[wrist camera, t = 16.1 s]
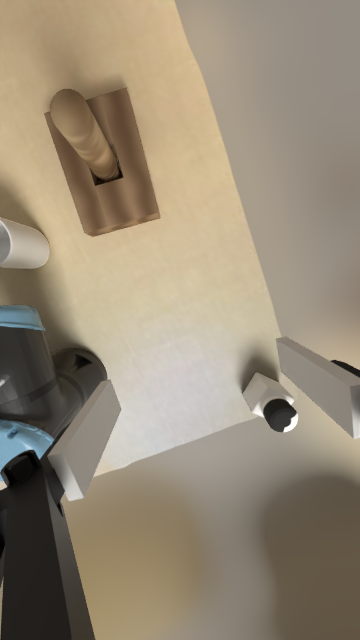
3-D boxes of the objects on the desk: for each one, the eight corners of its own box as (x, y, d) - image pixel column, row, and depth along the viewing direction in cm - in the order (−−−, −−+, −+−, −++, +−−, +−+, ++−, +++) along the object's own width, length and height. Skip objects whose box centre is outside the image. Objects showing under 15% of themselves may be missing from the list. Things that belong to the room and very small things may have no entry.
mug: (-1, 214, 42) (-61, 193, 31) (56, 236, 43) (16, 224, 32) (-8, 254, 43) (-68, 247, 33) (46, 275, 44) (6, 274, 34)
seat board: (93, 236, 43) (84, 232, 39) (57, 129, 38) (44, 113, 35) (160, 218, 42) (158, 212, 38) (131, 107, 38) (126, 87, 34)
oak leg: (104, 192, 41) (58, 140, 25) (96, 165, 40) (43, 95, 24) (126, 185, 41) (95, 129, 25) (119, 159, 40) (81, 83, 24)
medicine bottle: (241, 394, 51) (260, 429, 40) (255, 371, 50) (279, 400, 38) (265, 404, 52) (290, 442, 40) (279, 382, 51) (310, 414, 39)
